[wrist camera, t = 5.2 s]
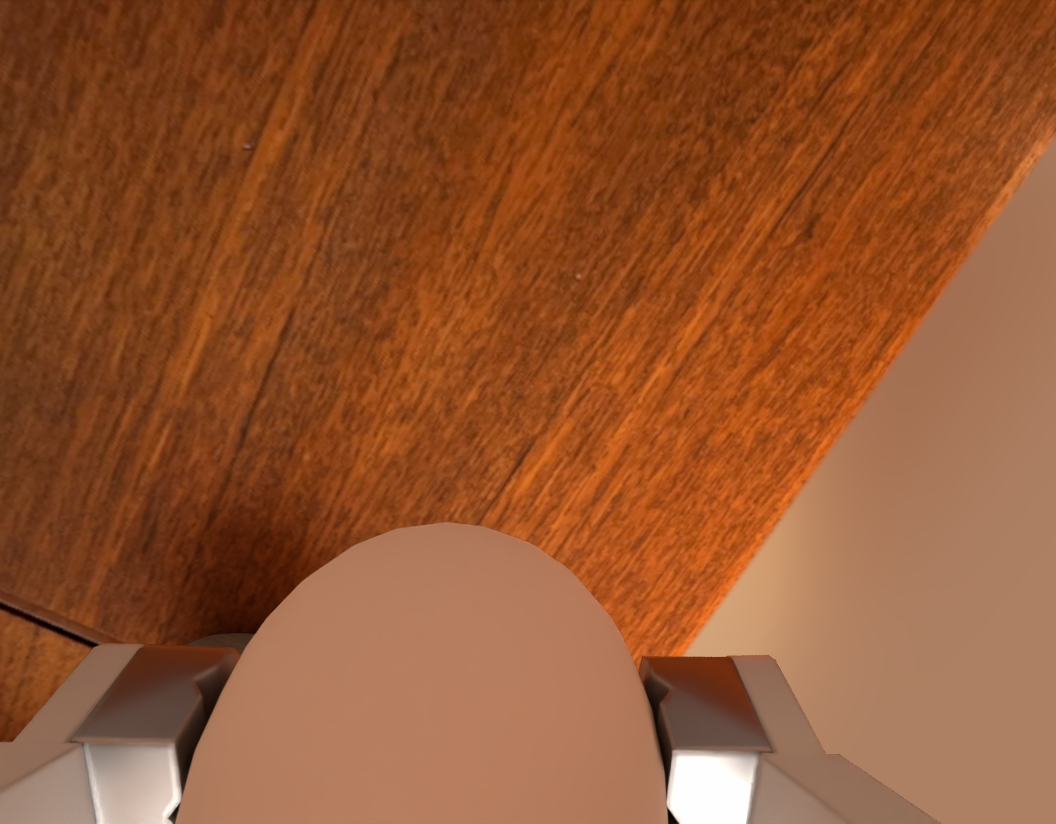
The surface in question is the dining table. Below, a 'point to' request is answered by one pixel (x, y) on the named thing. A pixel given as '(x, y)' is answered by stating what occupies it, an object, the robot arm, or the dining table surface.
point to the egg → (432, 697)
